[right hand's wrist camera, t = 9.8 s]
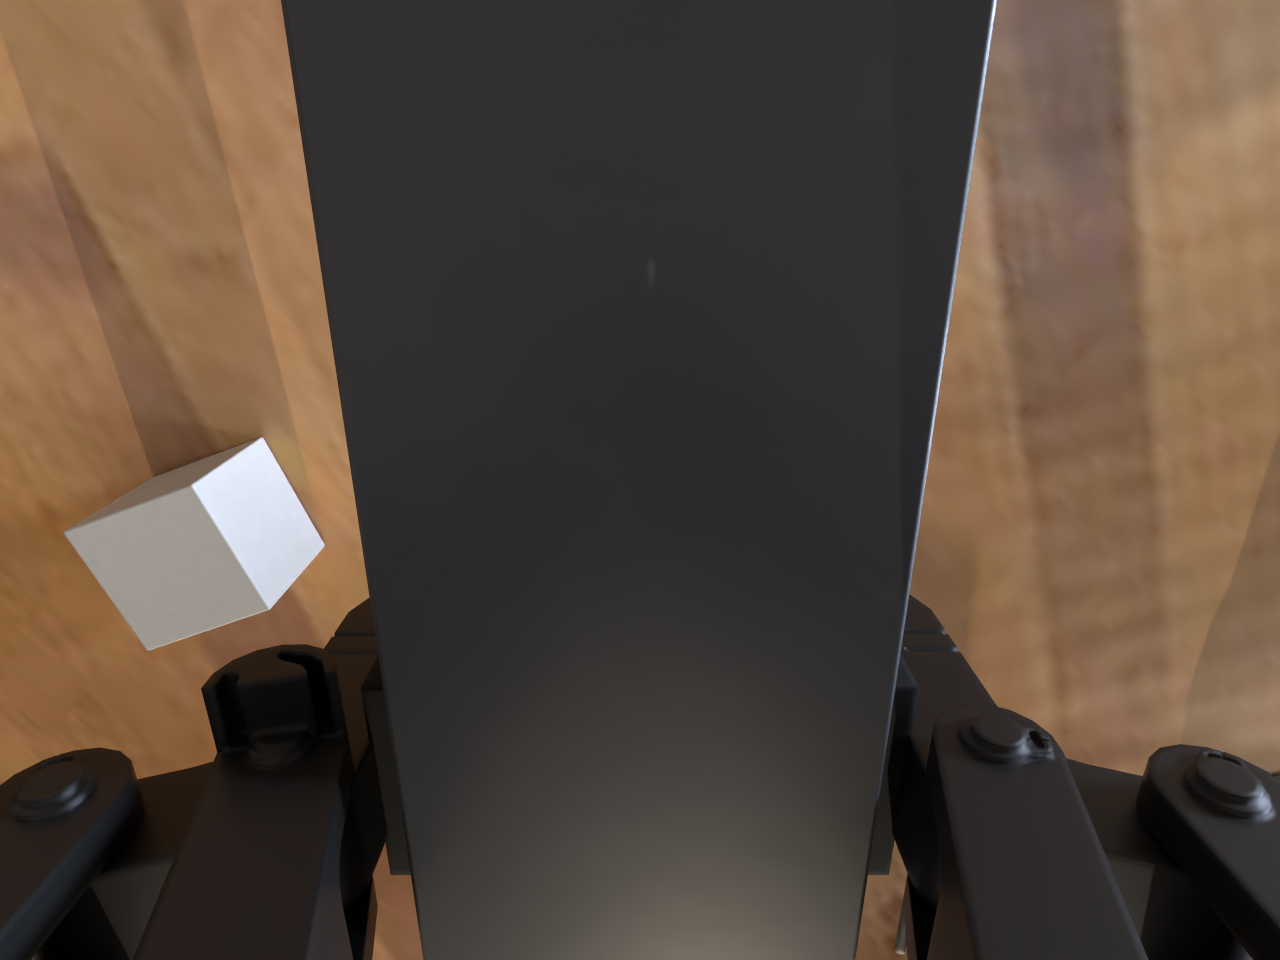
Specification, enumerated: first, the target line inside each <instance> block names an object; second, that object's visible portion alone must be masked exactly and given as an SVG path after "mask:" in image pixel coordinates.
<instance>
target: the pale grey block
mask: <svg viewBox="0 0 1280 960" xmlns="http://www.w3.org/2000/svg"><path fill="white" fill-rule="evenodd" d="M64 534H65V536H66V537H67V539H68V540H69V541H70V543H71V544H72V546H73V547H74V548H75V550H76V551H77V553H78V554H79V555H80V557H81V558H82V560H83V561H84V563H85V564H86V565H87V567H88V568H89V570H90V571H91V572H92V574H93V575H94V577H95V578H96V579H97V581H98V582H99V584H100V585H101V586H102V588H103V589H104V591H105V592H106V593H107V595H108V596H109V598H110V599H111V600H112V602H113V603H114V605H115V606H116V607H117V609H118V610H119V612H120V613H121V615H122V616H123V617H124V619H125V620H126V622H127V623H128V624H129V626H130V627H131V629H132V630H133V631H134V633H135V634H136V636H137V637H138V638H139V640H140V641H141V643H142V644H143V645H144V647H145V648H146V650H151V649H154V648H157V647H160V646H163V645H166V644H169V643H172V642H175V641H178V640H181V639H184V638H187V637H190V636H193V635H196V634H199V633H202V632H205V631H208V630H210V629H213V628H216V627H219V626H222V625H225V624H228V623H231V622H234V621H237V620H240V619H243V618H246V617H249V616H252V615H255V614H258V613H261V612H264V611H267V610H270V609H271V607H272V606H273V605H274V604H275V603H276V602H277V601H278V599H279V598H280V597H281V596H282V595H283V594H284V592H285V591H286V590H287V589H288V588H289V587H290V585H291V584H292V583H293V582H294V581H295V580H296V579H297V577H298V576H299V575H300V574H301V573H302V572H303V570H304V569H305V568H306V567H307V566H308V565H309V563H310V562H311V561H312V560H313V559H314V558H315V557H316V555H317V554H318V553H319V552H320V551H321V550H322V548H323V547H324V546H325V545H324V543H323V541H322V539H321V538H320V536H319V534H318V532H317V531H316V529H315V527H314V525H313V524H312V522H311V520H310V519H309V517H308V515H307V513H306V512H305V510H304V508H303V506H302V505H301V503H300V501H299V499H298V498H297V496H296V494H295V492H294V491H293V489H292V487H291V486H290V484H289V482H288V480H287V479H286V477H285V475H284V473H283V472H282V470H281V468H280V466H279V465H278V463H277V461H276V459H275V458H274V456H273V454H272V452H271V451H270V449H269V447H268V446H267V444H266V442H265V440H264V439H263V437H260V438H257V439H255V440H252V441H249V442H247V443H244V444H241V445H239V446H236V447H233V448H231V449H228V450H225V451H222V452H220V453H217V454H214V455H212V456H209V457H206V458H204V459H201V460H198V461H195V462H193V463H190V464H187V465H185V466H182V467H179V468H177V469H174V470H171V471H169V472H166V473H163V474H160V475H158V476H155V477H152V478H151V479H149V480H147V481H146V482H144V483H142V484H141V485H139V486H137V487H136V488H134V489H133V490H131V491H129V492H128V493H126V494H124V495H123V496H121V497H119V498H118V499H116V500H114V501H113V502H111V503H109V504H108V505H106V506H105V507H103V508H101V509H100V510H98V511H96V512H95V513H93V514H91V515H90V516H88V517H86V518H85V519H83V520H81V521H80V522H78V523H77V524H75V525H73V526H72V527H70V528H68V529H67V530H65V531H64Z"/></svg>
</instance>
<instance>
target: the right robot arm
mask: <svg viewBox="0 0 1280 960" xmlns="http://www.w3.org/2000/svg"><path fill="white" fill-rule="evenodd" d="M201 690H202V694H203V698H204V702H205V706H206V710H207V713H208V717H209V721H210V725H211V729H212V733H213V737H214V741H215V745H216V749H217V755H216V757H215V759H214V762H210V763H207V764H203V765H200V766H196V767H193V768H188V769H183V770H179V771H174V772H170V773H165V774H160V775H156V776H151V777H147V778H142V779H138V780H137V778H136V774H135V771H134V768H133V765H132V761H131V760H130V759H129V758H128V757H126V756H125V755H124V754H123V753H122V752H121V751H117V750H111V749H105V748H93V749H84V750H75V751H71V752H68V753H64V754H60V755H58V756H54V757H51V758H48V759H45V760H43V761H41V762H39V763H37V764H35V765H33V766H31V767H29V768H27V769H25V770H23V771H21V772H19V773H17V774H15V775H14V776H12V777H11V778H10V779H8V780H7V781H5V782H4V783H3V784H1V785H0V960H372V956H373V946H374V936H375V926H376V916H377V899H376V892H375V886H374V880H373V872H374V870H375V867H376V865H377V862H378V859H379V857H380V854H381V852H382V849H383V846H384V844H385V842H386V849H387V855H388V861H389V867H390V873H391V875H411V872H410V865H409V858H408V851H407V845H406V838H405V831H404V824H403V818H402V811H401V804H400V797H399V791H398V784H397V777H396V771H395V764H394V757H393V750H392V744H391V737H390V730H389V723H388V717H387V710H386V703H385V696H384V690H383V683H382V676H381V670H380V663H379V656H378V649H377V643H376V636H375V629H374V622H373V616H372V609H371V602H370V598H368V599H367V600H365V601H364V602H363V603H361V604H360V605H358V606H357V607H355V608H354V609H352V610H351V611H350V612H348V614H347V615H346V617H345V618H344V620H343V621H342V623H341V624H340V626H339V627H338V629H337V630H336V632H335V636H334V637H332V638H331V639H330V640H329V642H328V643H327V645H326V646H325V648H324V649H322V648H318V647H314V646H310V645H306V644H302V645H280V646H275V647H270V648H266V649H261V650H257V651H254V652H252V653H250V654H247V655H245V656H242V657H240V658H237V659H235V660H233V661H231V662H230V663H228V664H227V665H225V666H224V667H222V668H221V669H219V670H218V671H216V672H215V673H213V675H212V676H211V677H210V678H209V679H208V681H207V682H206V683H205V684H204V686H203V687H202V688H201ZM894 839H895V841H896V844H897V847H898V849H899V852H900V854H901V857H902V859H903V862H904V865H905V867H906V870H907V872H908V875H907V880H906V886H905V892H904V897H903V903H902V909H901V915H900V920H899V926H898V932H897V938H896V945H895V953H900V954H904V953H905V948H906V944H907V954H908V960H1280V775H1277V776H1274V777H1273V776H1272V775H1270V774H1269V773H1268V772H1266V771H1265V770H1263V769H1261V768H1259V767H1257V766H1255V765H1253V764H1251V763H1249V762H1246V761H1244V760H1242V759H1241V758H1239V757H1236V756H1234V755H1231V754H1228V753H1225V752H1220V751H1218V750H1214V749H1211V748H1207V747H1200V746H1191V745H1182V744H1179V745H1173V746H1168V747H1162V748H1159V749H1158V750H1157V751H1156V752H1155V753H1154V754H1152V755H1151V756H1150V757H1149V759H1148V762H1147V766H1146V769H1145V772H1144V775H1143V776H1139V775H1134V774H1130V773H1125V772H1120V771H1116V770H1111V769H1107V768H1102V767H1097V766H1093V765H1088V764H1084V763H1081V762H1077V761H1074V760H1070V759H1067V758H1065V756H1064V753H1063V751H1062V750H1061V748H1060V747H1059V745H1058V744H1057V743H1056V741H1055V740H1054V738H1053V737H1052V735H1050V734H1049V733H1048V732H1047V731H1045V730H1044V729H1043V728H1041V727H1040V726H1039V725H1037V724H1036V723H1035V722H1034V721H1032V720H1030V719H1028V718H1026V717H1023V716H1021V715H1019V714H1017V713H1015V712H1013V711H1011V710H1007V709H1003V708H999V707H997V705H996V704H995V702H994V701H993V700H992V698H991V697H990V695H989V694H988V692H987V691H986V689H985V688H984V686H983V685H982V683H981V682H980V680H979V679H978V678H977V676H976V675H975V673H974V672H973V670H972V669H971V667H970V666H969V664H968V663H967V661H966V660H965V658H964V657H963V656H962V654H961V653H960V652H957V647H956V645H955V644H954V642H953V641H952V639H951V638H950V636H949V635H948V634H945V629H944V628H943V626H942V625H941V623H940V622H939V620H938V619H937V617H936V616H935V614H934V613H933V612H932V610H931V609H930V608H928V607H927V606H925V605H924V604H922V603H921V602H919V601H918V600H917V599H915V598H914V597H912V596H911V595H909V598H908V605H907V612H906V619H905V625H904V632H903V639H902V646H901V653H900V659H899V666H898V673H897V680H896V686H895V693H894V700H893V707H892V714H891V720H890V727H889V734H888V741H887V747H886V754H885V761H884V768H883V775H882V781H881V788H880V795H879V802H878V808H877V815H876V822H875V829H874V835H873V842H872V849H871V856H870V863H869V869H868V875H889V870H890V864H891V858H892V852H893V845H894Z"/></svg>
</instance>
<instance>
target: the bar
mask: <svg viewBox="0 0 1280 960" xmlns="http://www.w3.org/2000/svg"><path fill="white" fill-rule="evenodd" d="M996 2H997V0H281V3H282V10H283V16H284V23H285V30H286V37H287V43H288V50H289V57H290V63H291V70H292V77H293V84H294V90H295V97H296V104H297V111H298V117H299V124H300V131H301V138H302V144H303V151H304V158H305V164H306V171H307V178H308V185H309V191H310V198H311V205H312V212H313V218H314V225H315V232H316V239H317V245H318V252H319V259H320V265H321V272H322V279H323V286H324V292H325V299H326V306H327V313H328V319H329V326H330V333H331V340H332V346H333V353H334V360H335V366H336V373H337V380H338V387H339V393H340V400H341V407H342V414H343V420H344V427H345V434H346V441H347V447H348V454H349V461H350V468H351V474H352V481H353V488H354V494H355V501H356V508H357V515H358V521H359V528H360V535H361V542H362V548H363V555H364V562H365V569H366V575H367V582H368V589H369V595H370V602H371V609H372V616H373V622H374V629H375V636H376V643H377V649H378V656H379V663H380V670H381V676H382V683H383V690H384V696H385V703H386V710H387V717H388V723H389V730H390V737H391V744H392V750H393V757H394V764H395V771H396V777H397V784H398V791H399V797H400V804H401V811H402V818H403V824H404V831H405V838H406V845H407V851H408V858H409V865H410V872H411V878H412V885H413V892H414V899H415V905H416V912H417V919H418V925H419V932H420V939H421V946H422V952H423V959H424V960H855V957H856V951H857V944H858V937H859V930H860V924H861V917H862V910H863V903H864V896H865V890H866V883H867V876H868V869H869V863H870V856H871V849H872V842H873V835H874V829H875V822H876V815H877V808H878V802H879V795H880V788H881V781H882V775H883V768H884V761H885V754H886V747H887V741H888V734H889V727H890V720H891V714H892V707H893V700H894V693H895V686H896V680H897V673H898V666H899V659H900V653H901V646H902V639H903V632H904V625H905V619H906V612H907V605H908V598H909V592H910V585H911V578H912V571H913V565H914V558H915V551H916V544H917V537H918V531H919V524H920V517H921V510H922V504H923V497H924V490H925V483H926V476H927V470H928V463H929V456H930V449H931V443H932V436H933V429H934V422H935V416H936V409H937V402H938V395H939V388H940V382H941V375H942V368H943V361H944V355H945V348H946V341H947V334H948V327H949V321H950V314H951V307H952V300H953V294H954V287H955V280H956V273H957V266H958V260H959V253H960V246H961V239H962V233H963V226H964V219H965V212H966V206H967V199H968V192H969V185H970V178H971V172H972V165H973V158H974V151H975V145H976V138H977V131H978V124H979V117H980V111H981V104H982V97H983V90H984V84H985V77H986V70H987V63H988V57H989V50H990V43H991V36H992V29H993V23H994V16H995V9H996Z"/></svg>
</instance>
